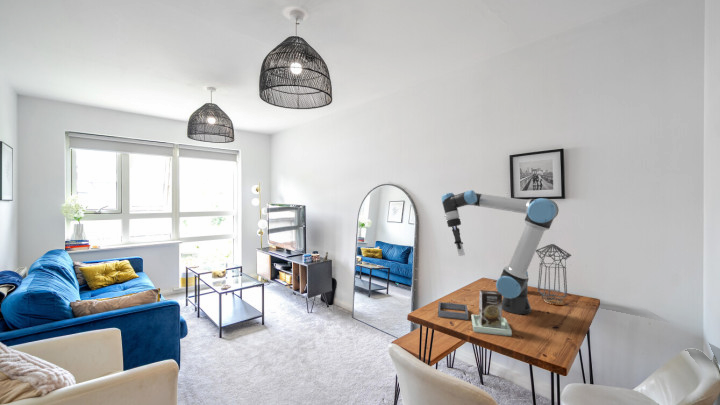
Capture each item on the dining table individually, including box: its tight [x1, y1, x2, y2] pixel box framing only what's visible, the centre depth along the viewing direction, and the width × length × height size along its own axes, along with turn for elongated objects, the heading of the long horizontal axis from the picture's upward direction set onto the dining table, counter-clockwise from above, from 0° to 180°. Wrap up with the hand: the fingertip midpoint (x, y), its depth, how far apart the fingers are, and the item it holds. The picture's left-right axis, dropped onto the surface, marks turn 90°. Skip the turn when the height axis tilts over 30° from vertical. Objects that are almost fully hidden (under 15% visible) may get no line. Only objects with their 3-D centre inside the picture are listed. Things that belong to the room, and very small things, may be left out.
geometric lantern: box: [535, 243, 572, 301], centre depth 191 cm, size 16×16×35 cm
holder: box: [437, 301, 469, 321], centre depth 167 cm, size 15×15×3 cm
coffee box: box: [478, 289, 503, 329], centre depth 149 cm, size 9×6×16 cm
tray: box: [470, 314, 513, 337], centre depth 148 cm, size 16×16×2 cm
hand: (461, 255), depth 176 cm, fingers open, 13 cm apart
